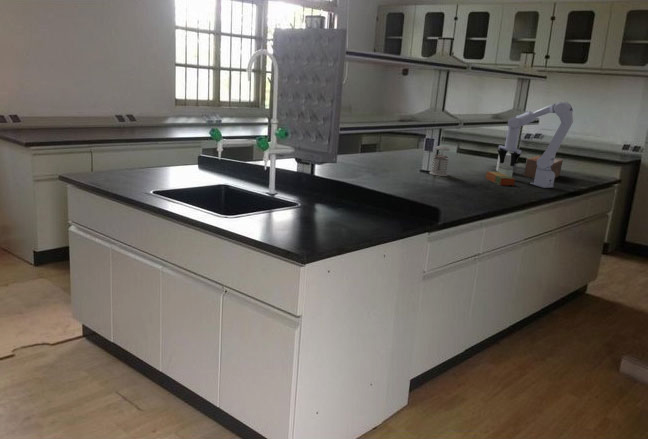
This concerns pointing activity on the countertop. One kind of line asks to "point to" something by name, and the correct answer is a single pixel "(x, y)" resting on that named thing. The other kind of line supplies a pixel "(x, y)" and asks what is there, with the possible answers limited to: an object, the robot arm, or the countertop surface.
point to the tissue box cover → (532, 166)
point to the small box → (506, 162)
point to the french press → (440, 162)
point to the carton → (500, 178)
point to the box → (506, 170)
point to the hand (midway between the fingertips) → (506, 164)
